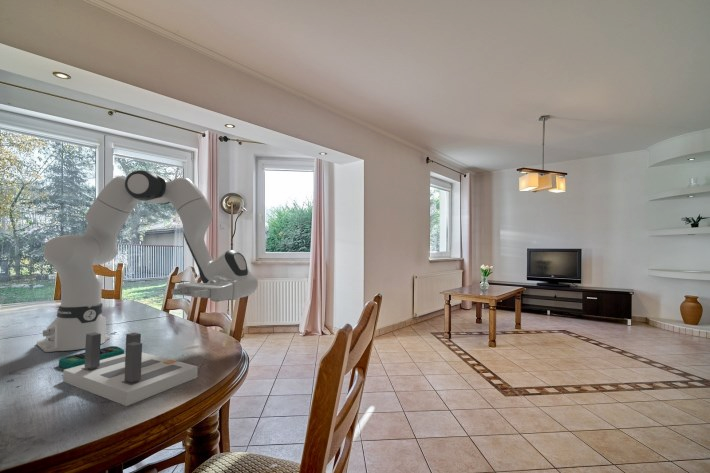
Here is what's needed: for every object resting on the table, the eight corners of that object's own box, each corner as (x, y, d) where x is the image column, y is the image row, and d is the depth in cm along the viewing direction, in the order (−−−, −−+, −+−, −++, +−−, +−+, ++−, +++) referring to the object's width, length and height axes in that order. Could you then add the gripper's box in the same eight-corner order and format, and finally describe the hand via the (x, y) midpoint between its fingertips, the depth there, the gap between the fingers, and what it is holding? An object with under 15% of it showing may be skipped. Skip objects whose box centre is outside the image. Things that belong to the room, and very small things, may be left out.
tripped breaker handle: (124, 366, 86) (126, 334, 86) (132, 364, 87) (134, 332, 88) (131, 368, 84) (133, 335, 85) (139, 366, 86) (140, 333, 86)
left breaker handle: (84, 367, 85) (86, 334, 85) (93, 364, 87) (94, 332, 87) (90, 368, 84) (92, 335, 84) (99, 366, 85) (100, 333, 86)
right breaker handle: (124, 380, 77) (126, 343, 77) (133, 377, 79) (134, 341, 79) (131, 382, 76) (133, 345, 76) (140, 379, 78) (142, 343, 78)
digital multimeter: (126, 356, 104) (126, 347, 104) (69, 372, 91) (69, 361, 91) (113, 353, 108) (114, 344, 108) (57, 367, 94) (57, 357, 94)
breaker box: (62, 381, 84) (63, 369, 84) (135, 360, 100) (135, 350, 100) (126, 406, 71) (127, 391, 72) (197, 377, 88) (197, 365, 88)
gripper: (199, 277, 116) (161, 281, 104) (241, 280, 107) (206, 284, 95) (198, 295, 116) (161, 300, 103) (240, 299, 107) (205, 306, 95)
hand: (182, 293), depth 99 cm, fingers open, 8 cm apart
